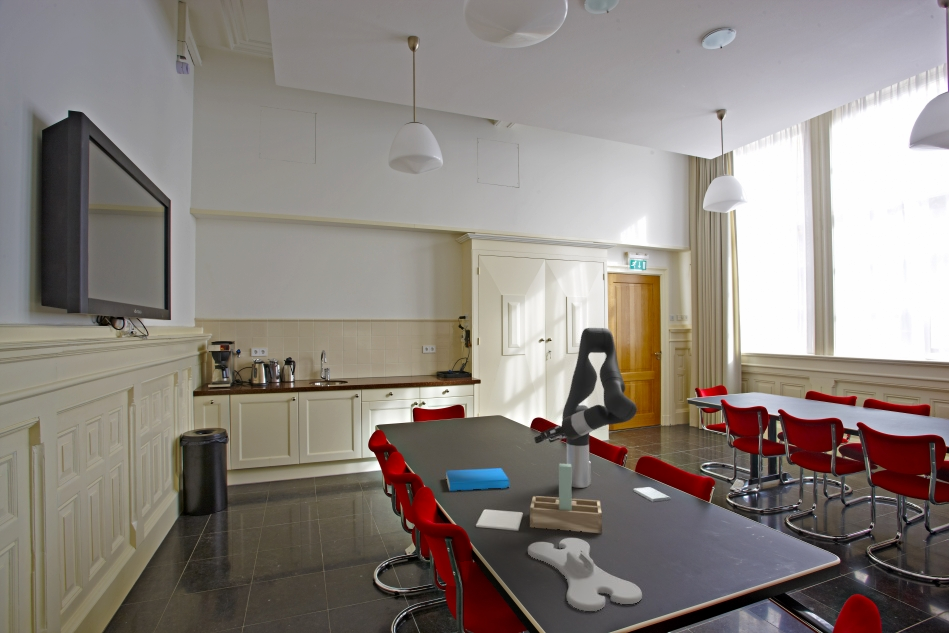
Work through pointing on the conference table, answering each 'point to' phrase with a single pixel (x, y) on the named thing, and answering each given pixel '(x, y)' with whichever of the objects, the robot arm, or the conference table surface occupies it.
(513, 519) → the mat
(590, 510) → the box
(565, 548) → the holder
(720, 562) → the conference table surface
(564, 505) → the pale green bar
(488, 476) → the book
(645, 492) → the hard drive
